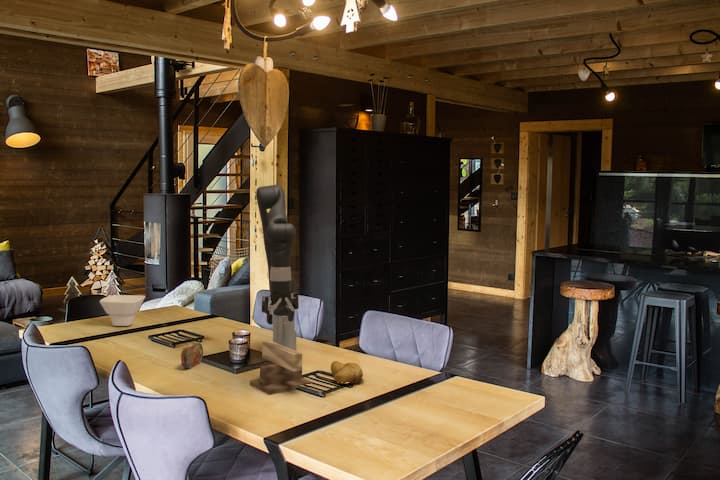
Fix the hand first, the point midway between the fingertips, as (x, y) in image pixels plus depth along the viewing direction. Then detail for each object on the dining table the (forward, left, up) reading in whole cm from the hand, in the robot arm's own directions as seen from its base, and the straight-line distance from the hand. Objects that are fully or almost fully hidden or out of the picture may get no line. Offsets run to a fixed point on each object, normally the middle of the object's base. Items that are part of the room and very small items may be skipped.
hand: (280, 322), depth 241 cm
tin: (+17, -40, -23) cm, 49 cm away
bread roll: (-23, +12, -23) cm, 35 cm away
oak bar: (0, +2, -15) cm, 15 cm away
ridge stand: (+1, +2, -23) cm, 23 cm away
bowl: (+16, -126, -23) cm, 129 cm away
